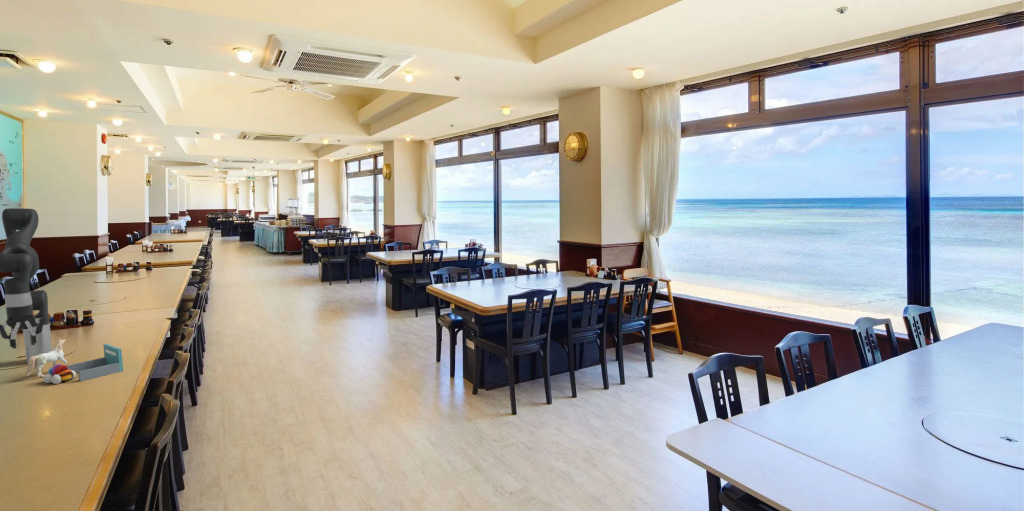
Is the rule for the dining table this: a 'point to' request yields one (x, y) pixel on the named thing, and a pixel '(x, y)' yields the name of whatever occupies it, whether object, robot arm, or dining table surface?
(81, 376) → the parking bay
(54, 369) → the white-wheeled rainbow disc toy
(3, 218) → the robot arm
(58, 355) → the unicorn figurine
